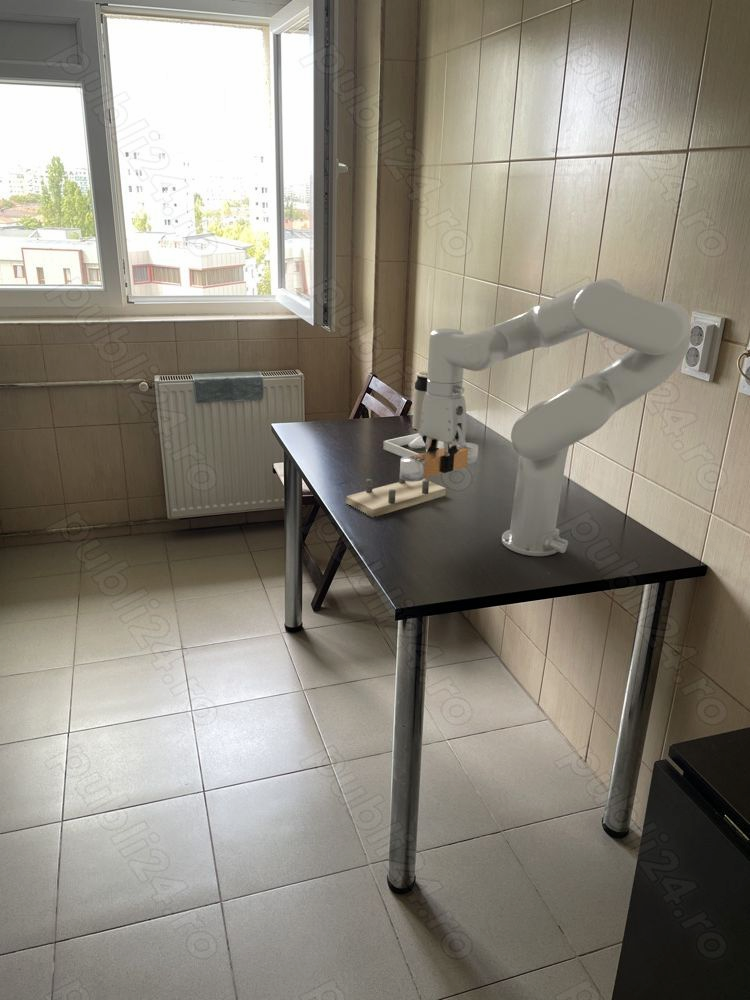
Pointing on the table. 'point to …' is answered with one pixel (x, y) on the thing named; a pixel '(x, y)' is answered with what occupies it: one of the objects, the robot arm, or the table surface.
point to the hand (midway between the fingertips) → (439, 468)
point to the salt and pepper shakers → (420, 443)
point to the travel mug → (419, 398)
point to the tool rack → (394, 496)
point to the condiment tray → (395, 444)
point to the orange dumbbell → (435, 462)
